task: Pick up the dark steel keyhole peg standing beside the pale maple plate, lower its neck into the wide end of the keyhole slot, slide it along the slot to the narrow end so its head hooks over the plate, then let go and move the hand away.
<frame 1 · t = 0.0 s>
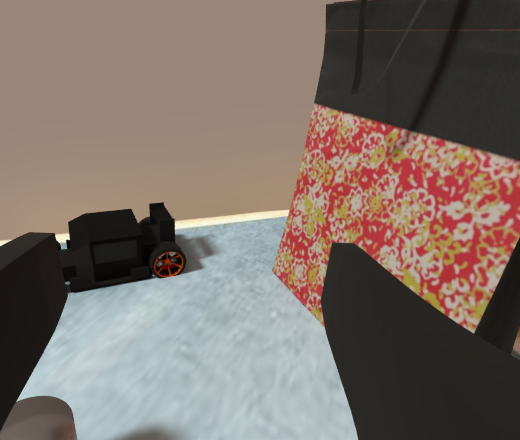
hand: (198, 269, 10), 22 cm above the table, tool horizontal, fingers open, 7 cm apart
gift bag: (369, 334, 42), on the table
toy truck: (100, 271, 50), on the table
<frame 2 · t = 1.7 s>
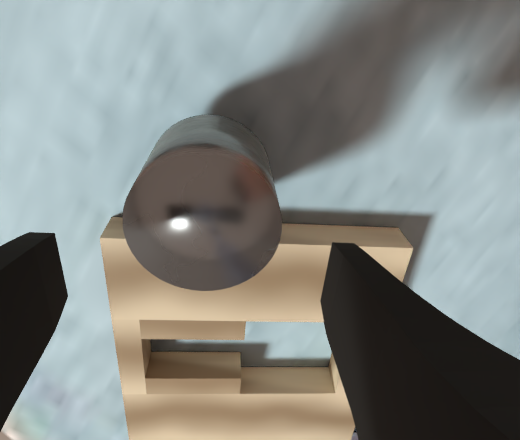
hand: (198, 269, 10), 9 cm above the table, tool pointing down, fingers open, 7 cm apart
keyhole peg: (213, 155, 18), on the table
keyhole plate: (249, 334, 24), on the table
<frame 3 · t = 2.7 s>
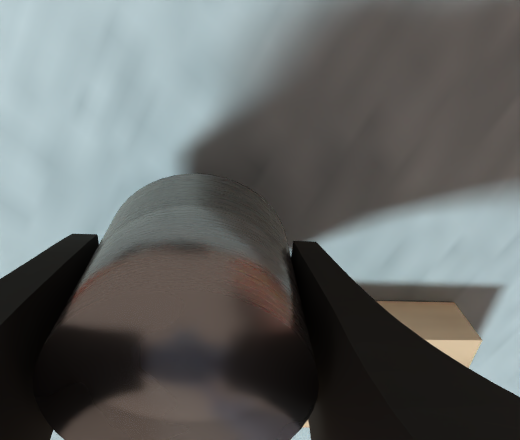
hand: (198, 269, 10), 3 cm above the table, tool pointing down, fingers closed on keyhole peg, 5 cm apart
keyhole peg: (204, 216, 13), on the table, touching gripper
keyhole plate: (254, 425, 19), on the table
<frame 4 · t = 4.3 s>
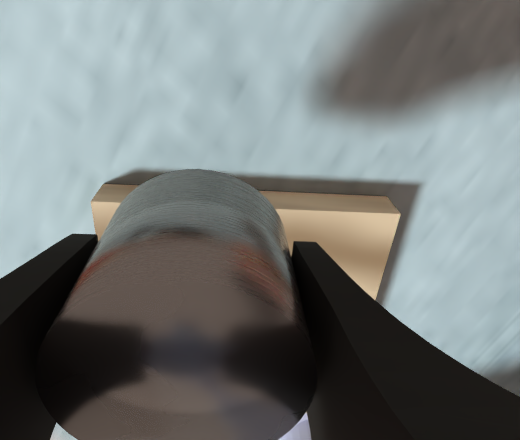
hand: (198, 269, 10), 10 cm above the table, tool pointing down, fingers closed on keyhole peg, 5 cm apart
keyhole peg: (204, 213, 13), point 7 cm above the table, touching gripper
keyhole plate: (241, 305, 24), on the table
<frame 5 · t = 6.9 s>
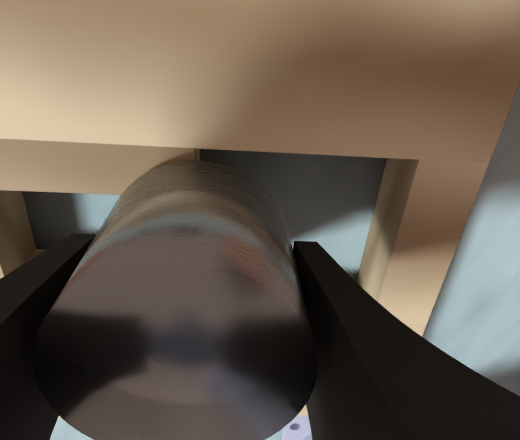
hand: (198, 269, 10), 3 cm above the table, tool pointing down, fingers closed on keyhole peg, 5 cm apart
keyhole peg: (206, 207, 13), resting in keyhole plate, touching gripper
keyhole plate: (215, 214, 13), on the table
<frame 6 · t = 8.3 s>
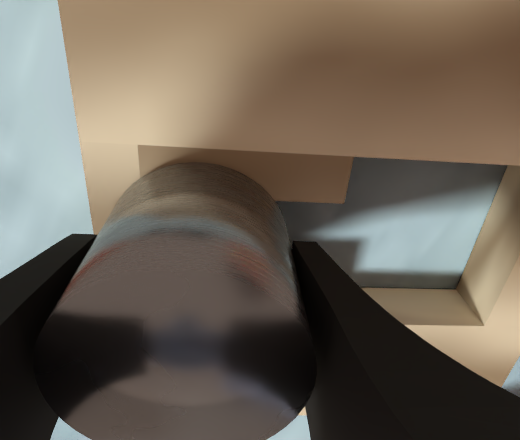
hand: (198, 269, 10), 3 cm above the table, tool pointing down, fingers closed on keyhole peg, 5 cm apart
keyhole peg: (205, 207, 13), resting in keyhole plate, touching gripper
keyhole plate: (335, 219, 13), on the table
when the fingers open (3 cm above the table, at t = 8.3 s): keyhole peg stays where it is, resting in keyhole plate.
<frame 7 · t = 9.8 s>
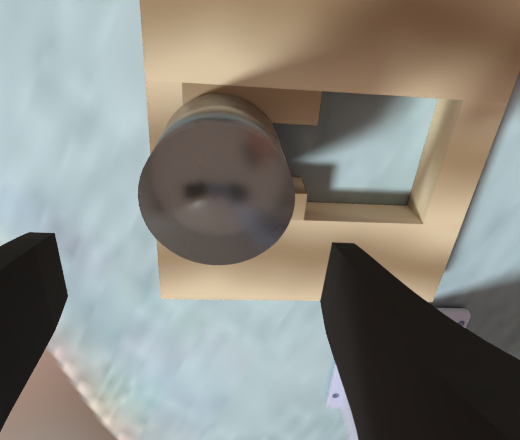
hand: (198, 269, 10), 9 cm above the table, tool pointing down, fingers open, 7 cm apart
keyhole peg: (222, 137, 18), resting in keyhole plate
keyhole plate: (314, 147, 19), on the table
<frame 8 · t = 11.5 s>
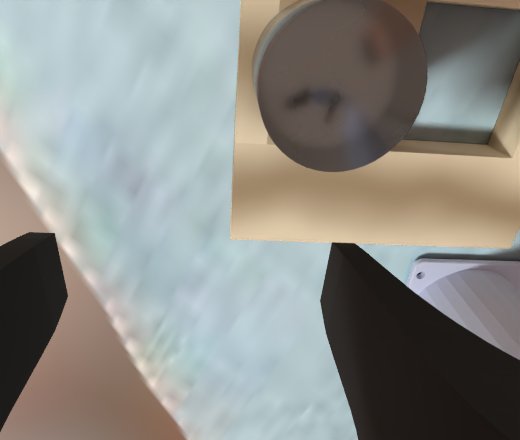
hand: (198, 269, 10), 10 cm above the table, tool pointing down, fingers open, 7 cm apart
keyhole peg: (304, 62, 17), resting in keyhole plate
keyhole plate: (399, 75, 18), on the table
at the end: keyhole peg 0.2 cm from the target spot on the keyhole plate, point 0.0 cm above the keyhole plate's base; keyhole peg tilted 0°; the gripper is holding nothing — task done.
